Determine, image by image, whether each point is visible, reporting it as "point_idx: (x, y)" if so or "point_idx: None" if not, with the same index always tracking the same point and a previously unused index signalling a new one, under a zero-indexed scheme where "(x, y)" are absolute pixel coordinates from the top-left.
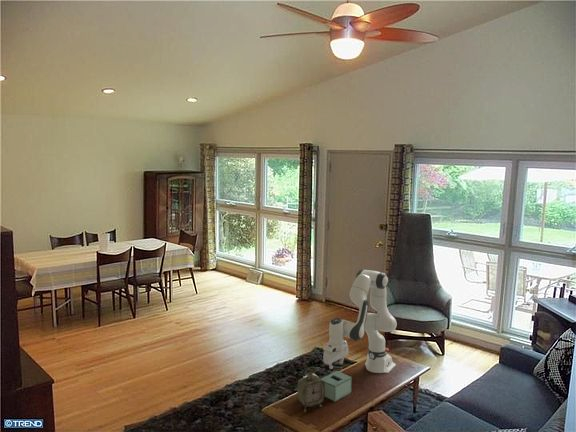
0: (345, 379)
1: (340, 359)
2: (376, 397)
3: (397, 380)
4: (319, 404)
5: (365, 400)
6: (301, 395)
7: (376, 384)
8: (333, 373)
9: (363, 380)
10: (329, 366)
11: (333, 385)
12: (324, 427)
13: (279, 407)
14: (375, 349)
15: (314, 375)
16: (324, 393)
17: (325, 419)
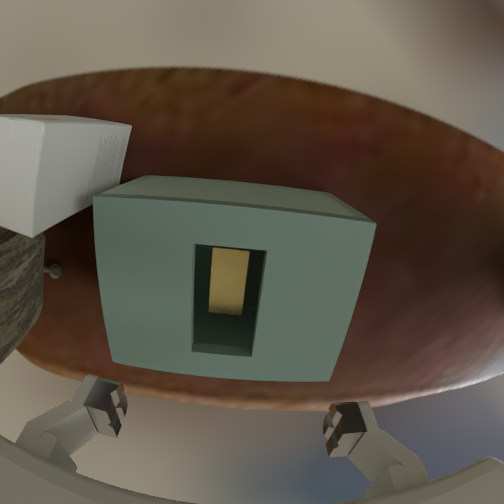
0: (262, 372)
1: (373, 442)
2: (326, 401)
3: (474, 369)
4: (46, 271)
5: (273, 389)
6: None
7: (433, 345)
8: (300, 230)
9: (450, 284)
10: (74, 396)
11: (110, 349)
12: None
13: None
14: None
15: (19, 175)
16: (25, 332)
17: (33, 331)
